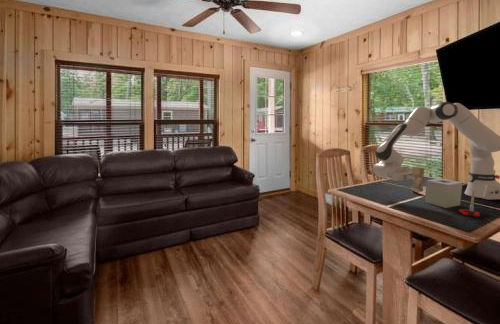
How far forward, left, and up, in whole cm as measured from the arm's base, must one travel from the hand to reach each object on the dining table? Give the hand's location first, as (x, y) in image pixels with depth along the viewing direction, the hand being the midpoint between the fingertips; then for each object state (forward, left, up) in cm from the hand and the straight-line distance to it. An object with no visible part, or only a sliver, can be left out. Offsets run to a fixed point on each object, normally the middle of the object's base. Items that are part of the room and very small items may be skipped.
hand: (419, 177), depth 151 cm
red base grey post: (-22, +8, -17) cm, 29 cm away
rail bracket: (0, -1, -8) cm, 8 cm away
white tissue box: (-17, -8, -17) cm, 25 cm away
